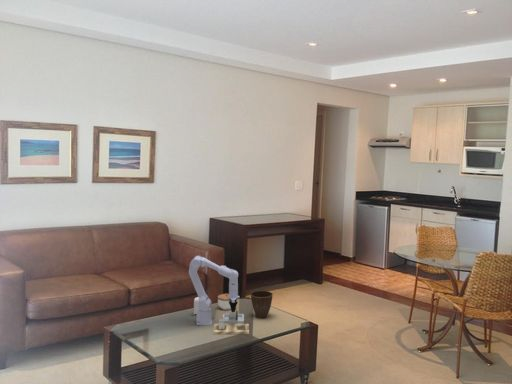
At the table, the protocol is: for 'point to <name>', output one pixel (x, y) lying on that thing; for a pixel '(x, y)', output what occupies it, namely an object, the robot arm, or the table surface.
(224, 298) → the lidded bowl
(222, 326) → the block
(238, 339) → the table surface
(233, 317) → the loose billet
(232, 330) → the wooden frame board
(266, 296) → the plant pot
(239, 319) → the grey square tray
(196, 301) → the photo printer
